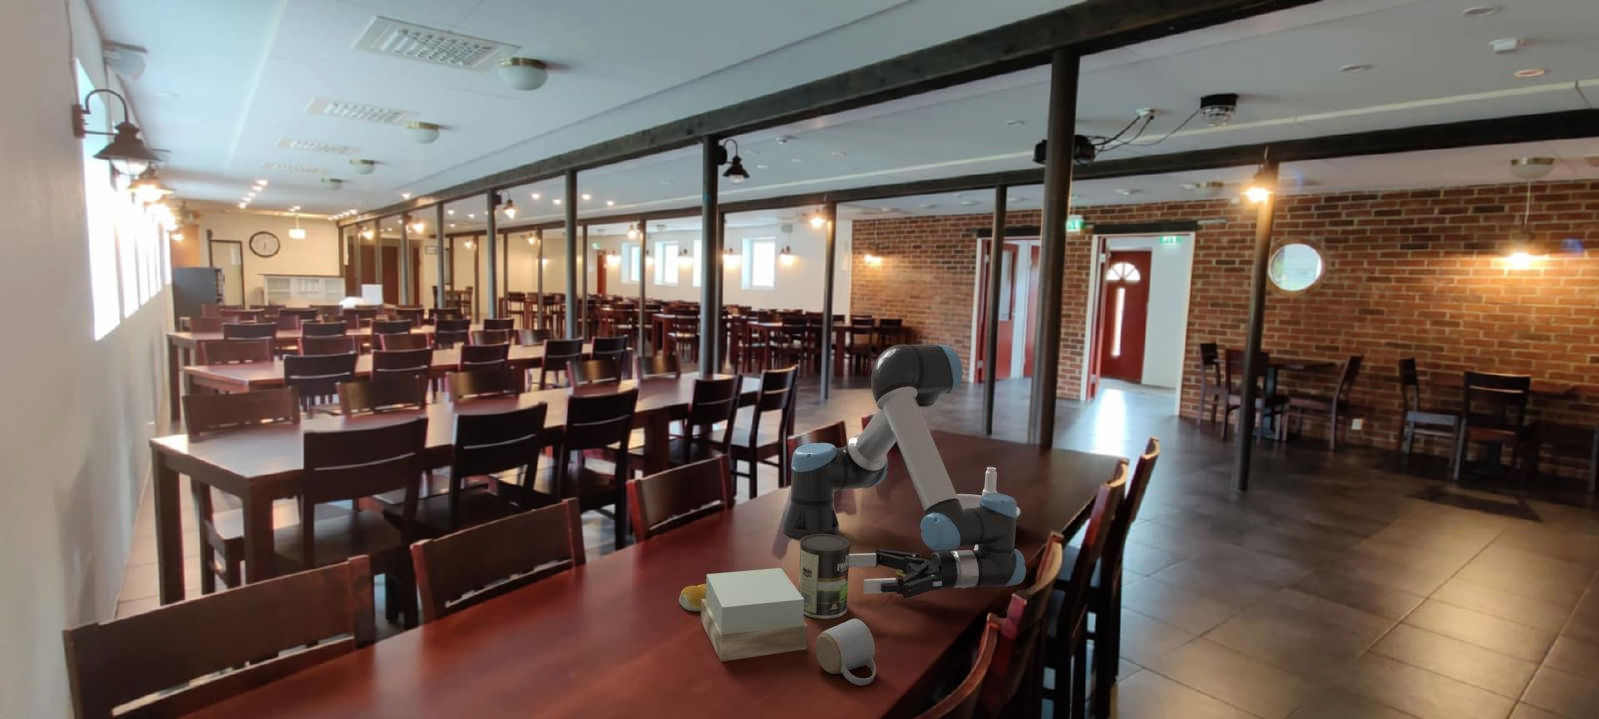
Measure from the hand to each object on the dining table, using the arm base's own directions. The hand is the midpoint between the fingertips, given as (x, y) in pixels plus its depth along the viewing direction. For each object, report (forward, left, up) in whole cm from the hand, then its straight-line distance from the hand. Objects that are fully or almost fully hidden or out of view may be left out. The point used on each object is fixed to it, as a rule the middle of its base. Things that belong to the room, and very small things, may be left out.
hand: (854, 573), depth 148 cm
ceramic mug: (+22, -11, -8) cm, 26 cm away
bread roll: (-10, -29, -8) cm, 32 cm away
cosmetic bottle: (-21, +47, -8) cm, 52 cm away
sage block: (+5, -23, -3) cm, 24 cm away
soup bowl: (-38, +55, -8) cm, 67 cm away
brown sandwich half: (-11, +22, -8) cm, 26 cm away
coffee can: (-2, -6, -8) cm, 10 cm away
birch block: (+5, -23, -8) cm, 25 cm away
